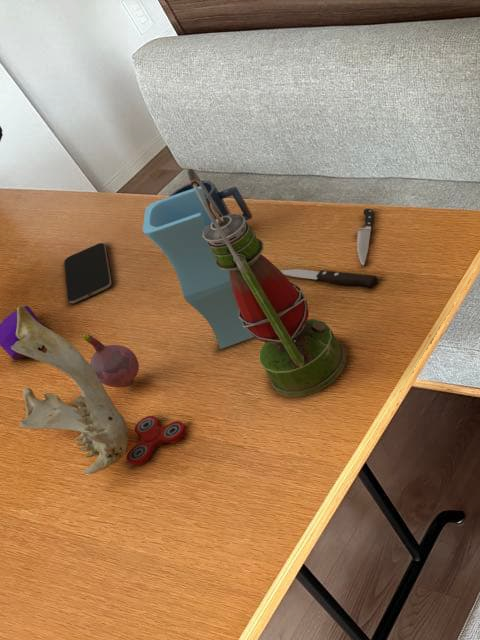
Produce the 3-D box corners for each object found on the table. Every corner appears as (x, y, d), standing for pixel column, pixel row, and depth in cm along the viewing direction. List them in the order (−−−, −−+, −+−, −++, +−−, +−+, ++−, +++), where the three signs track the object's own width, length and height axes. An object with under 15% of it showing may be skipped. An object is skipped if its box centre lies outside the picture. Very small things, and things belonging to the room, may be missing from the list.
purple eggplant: (31, 289, 130) (20, 333, 119) (50, 313, 133) (42, 358, 122) (2, 301, 129) (-11, 347, 118) (22, 325, 132) (11, 372, 121)
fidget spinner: (122, 463, 101) (128, 469, 102) (176, 449, 101) (182, 455, 101) (135, 417, 106) (141, 423, 107) (187, 403, 106) (192, 409, 107)
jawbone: (145, 392, 96) (50, 405, 89) (144, 508, 104) (57, 528, 98) (83, 298, 110) (-3, 303, 103) (87, 407, 119) (7, 418, 112)
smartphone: (67, 302, 131) (63, 258, 141) (70, 306, 131) (66, 261, 141) (110, 283, 132) (103, 241, 142) (113, 286, 132) (105, 244, 142)
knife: (352, 266, 120) (366, 267, 121) (352, 262, 120) (366, 263, 120) (361, 211, 130) (373, 212, 131) (361, 207, 130) (373, 208, 130)
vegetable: (128, 366, 116) (85, 316, 109) (159, 371, 114) (118, 319, 107) (101, 397, 113) (55, 347, 106) (132, 403, 110) (88, 351, 103)
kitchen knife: (372, 289, 117) (379, 280, 118) (370, 284, 116) (377, 275, 117) (276, 277, 124) (284, 269, 125) (274, 272, 123) (281, 264, 124)
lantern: (358, 380, 104) (249, 181, 82) (282, 417, 102) (150, 224, 81) (332, 322, 113) (228, 130, 92) (262, 355, 112) (139, 168, 90)
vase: (272, 330, 115) (201, 215, 101) (220, 349, 115) (141, 236, 100) (270, 298, 120) (202, 185, 106) (220, 316, 120) (145, 204, 106)
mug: (194, 261, 132) (164, 216, 126) (194, 236, 138) (165, 191, 131) (259, 238, 133) (233, 192, 126) (257, 213, 138) (231, 168, 132)
